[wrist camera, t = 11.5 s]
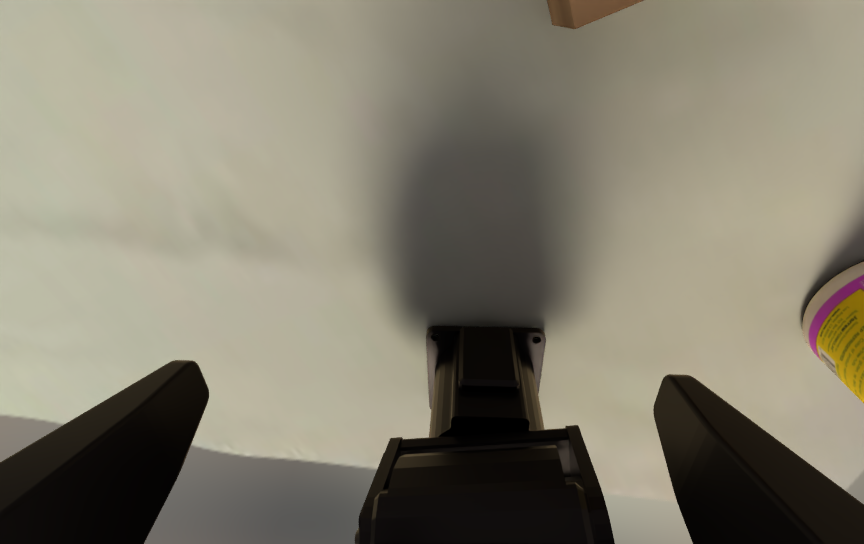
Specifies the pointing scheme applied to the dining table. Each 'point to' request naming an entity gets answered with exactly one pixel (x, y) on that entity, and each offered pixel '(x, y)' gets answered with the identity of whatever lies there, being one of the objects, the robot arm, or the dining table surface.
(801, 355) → the dining table surface
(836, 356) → the supplement bottle
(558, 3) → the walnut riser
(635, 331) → the dining table surface
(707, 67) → the dining table surface
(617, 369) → the dining table surface
